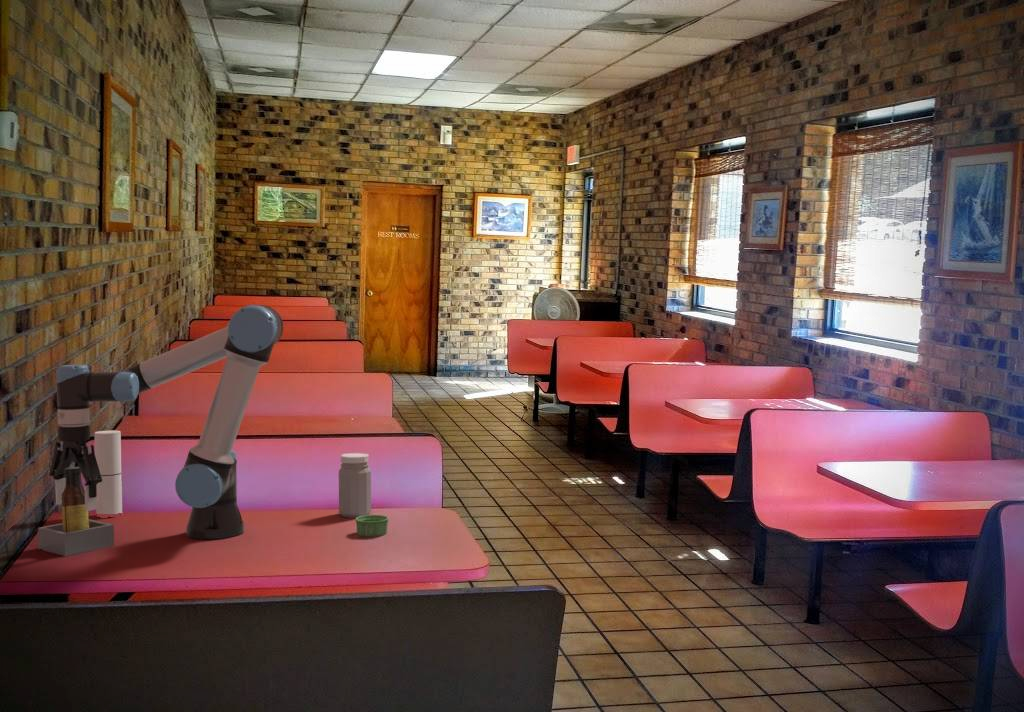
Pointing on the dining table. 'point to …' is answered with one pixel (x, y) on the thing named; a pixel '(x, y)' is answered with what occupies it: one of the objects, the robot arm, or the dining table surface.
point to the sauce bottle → (74, 502)
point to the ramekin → (372, 525)
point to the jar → (354, 485)
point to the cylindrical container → (109, 472)
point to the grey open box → (75, 538)
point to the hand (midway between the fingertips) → (76, 507)
